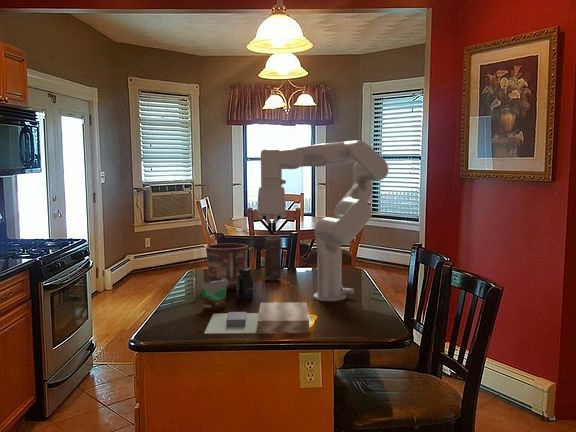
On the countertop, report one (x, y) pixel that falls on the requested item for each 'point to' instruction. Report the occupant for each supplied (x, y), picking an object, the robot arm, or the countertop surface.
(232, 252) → the pottery
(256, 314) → the mat
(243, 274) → the supplement bottle
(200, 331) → the countertop surface
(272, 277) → the candle
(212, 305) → the food container
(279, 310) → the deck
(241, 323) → the grey flat block
